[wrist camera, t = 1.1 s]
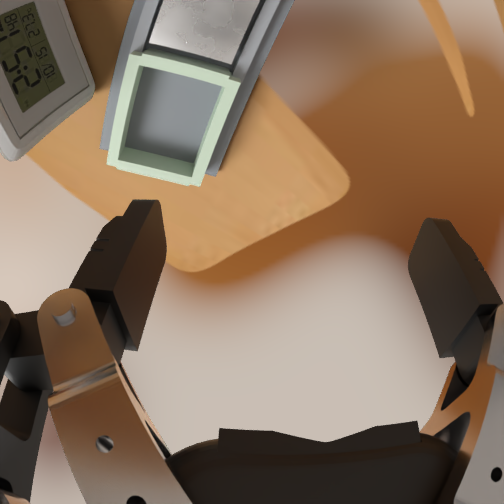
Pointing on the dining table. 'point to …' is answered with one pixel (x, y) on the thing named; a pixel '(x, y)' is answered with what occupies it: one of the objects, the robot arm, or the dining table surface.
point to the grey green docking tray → (181, 97)
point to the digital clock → (38, 72)
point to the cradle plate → (204, 26)
